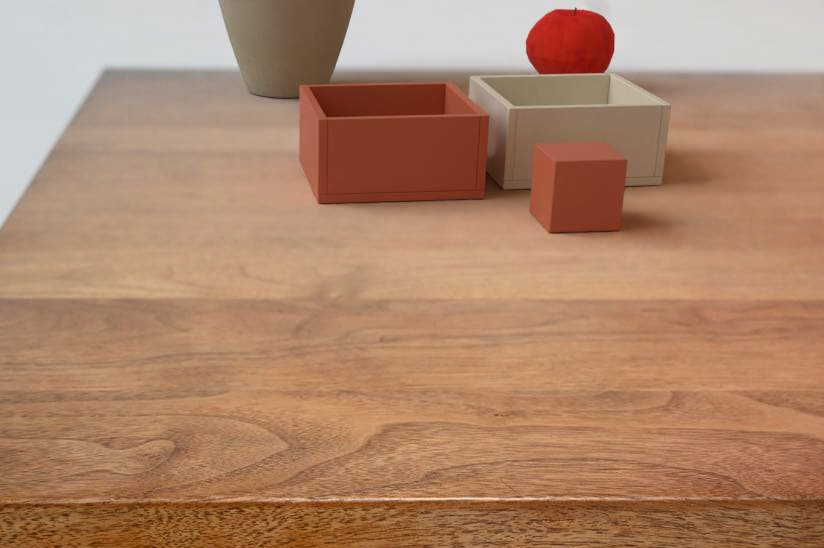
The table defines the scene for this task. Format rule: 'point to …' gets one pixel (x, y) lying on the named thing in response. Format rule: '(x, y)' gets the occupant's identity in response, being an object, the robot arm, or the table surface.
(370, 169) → the terracotta bin
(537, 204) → the terracotta block
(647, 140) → the cream bin
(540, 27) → the apple
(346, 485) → the table surface
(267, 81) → the plant pot
